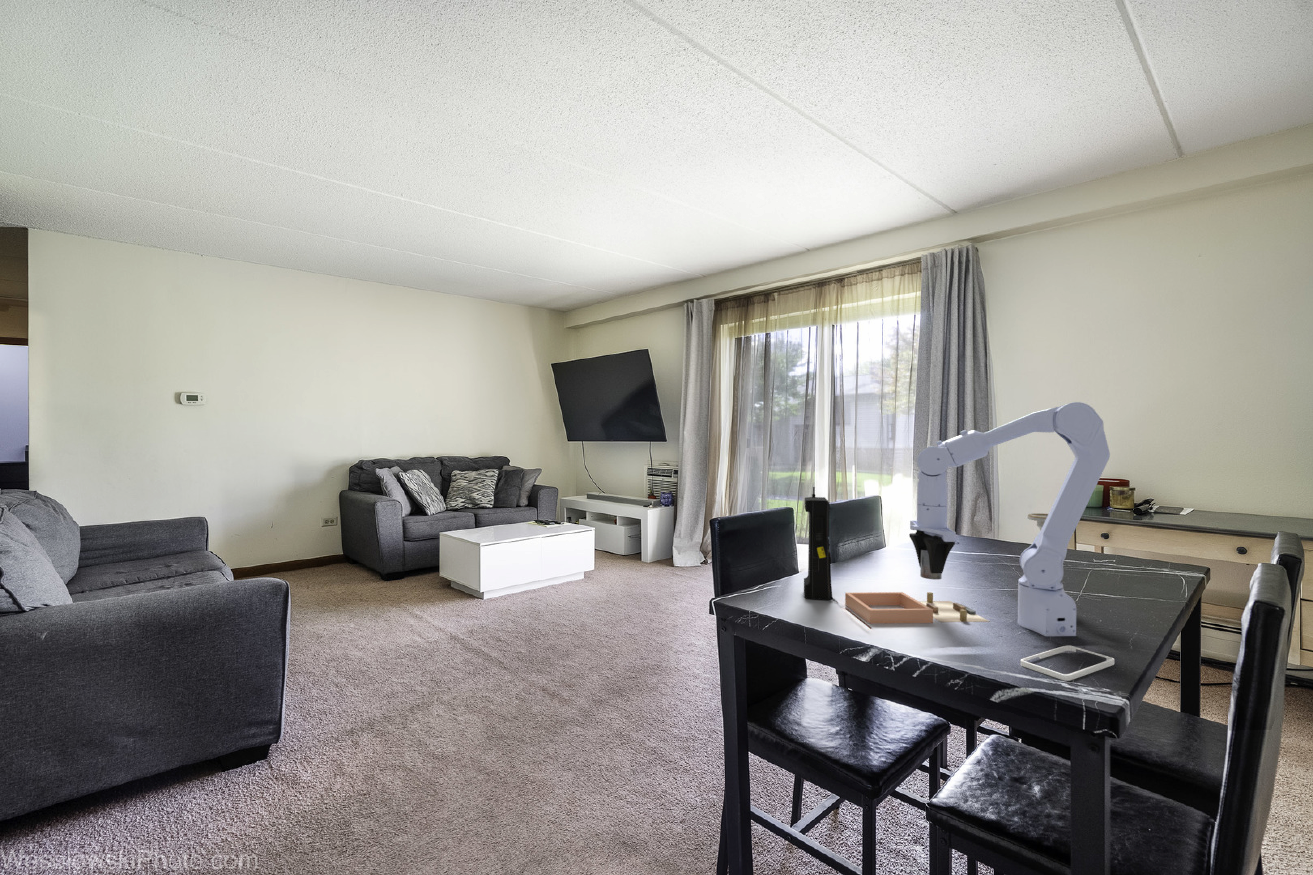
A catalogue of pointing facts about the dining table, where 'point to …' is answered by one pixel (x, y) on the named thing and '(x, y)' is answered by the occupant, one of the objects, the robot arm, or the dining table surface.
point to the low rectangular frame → (911, 614)
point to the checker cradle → (951, 611)
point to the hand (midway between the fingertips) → (930, 570)
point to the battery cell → (927, 567)
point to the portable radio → (818, 550)
